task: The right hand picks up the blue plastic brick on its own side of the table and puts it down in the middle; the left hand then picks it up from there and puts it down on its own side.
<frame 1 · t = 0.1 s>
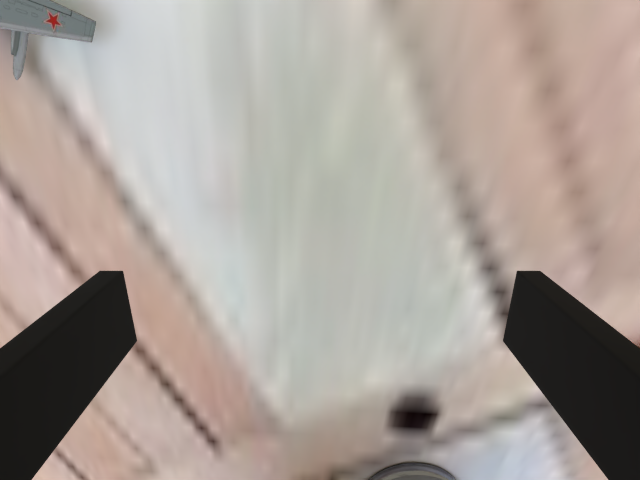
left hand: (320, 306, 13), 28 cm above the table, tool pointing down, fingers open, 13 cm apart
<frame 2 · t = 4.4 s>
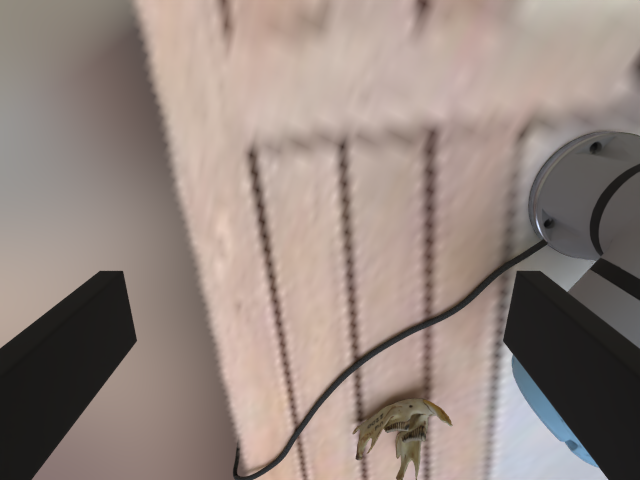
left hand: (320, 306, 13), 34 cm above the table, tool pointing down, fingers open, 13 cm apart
jawbone: (399, 409, 58), on the table
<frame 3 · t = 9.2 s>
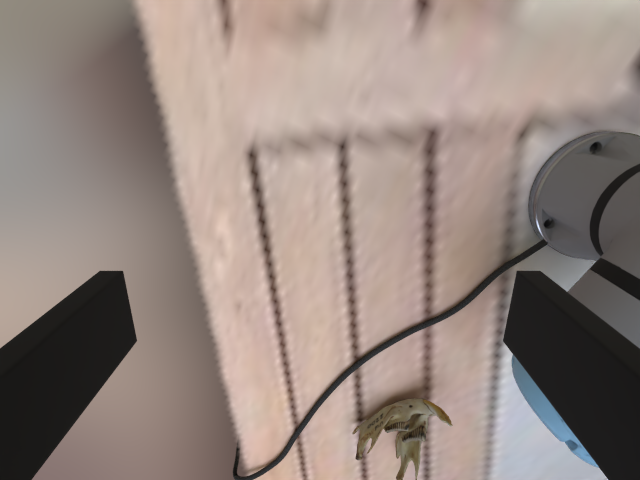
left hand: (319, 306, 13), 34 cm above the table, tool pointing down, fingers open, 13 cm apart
jawbone: (399, 409, 58), on the table
when the right hand's fingers open (4 cm above the table, at t = 13.8 s): brick drops 2 cm, on the table.
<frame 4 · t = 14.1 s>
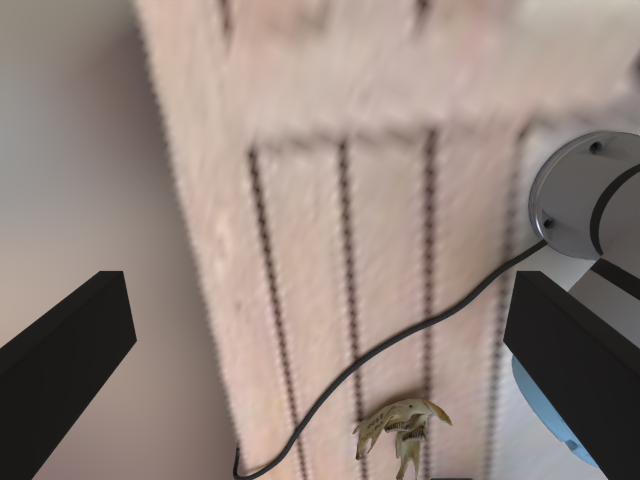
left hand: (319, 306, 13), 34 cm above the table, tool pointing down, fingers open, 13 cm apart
jawbone: (399, 409, 58), on the table
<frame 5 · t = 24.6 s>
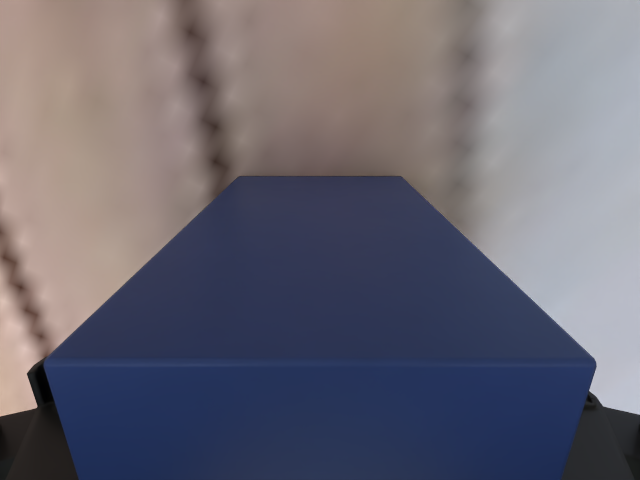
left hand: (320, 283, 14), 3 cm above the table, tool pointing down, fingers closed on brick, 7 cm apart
brick: (319, 255, 17), on the table, touching left hand
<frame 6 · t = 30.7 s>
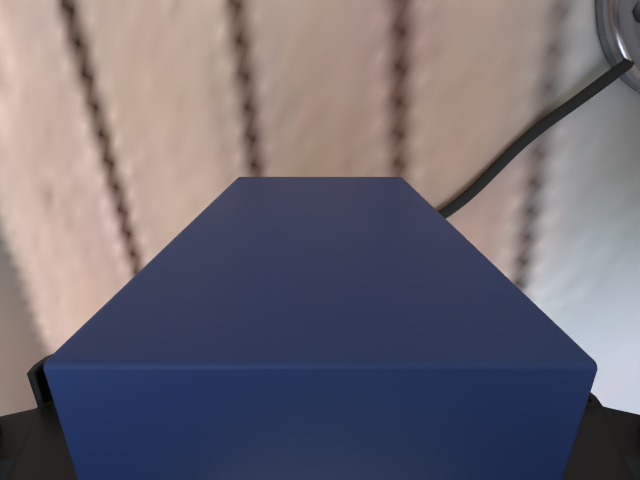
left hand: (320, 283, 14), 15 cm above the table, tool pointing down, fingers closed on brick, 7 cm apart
brick: (320, 256, 17), point 12 cm above the table, touching left hand
when the left hand's fingers open (4 cm above the table, at t = 37.2 s): brick drops 2 cm, on the table.
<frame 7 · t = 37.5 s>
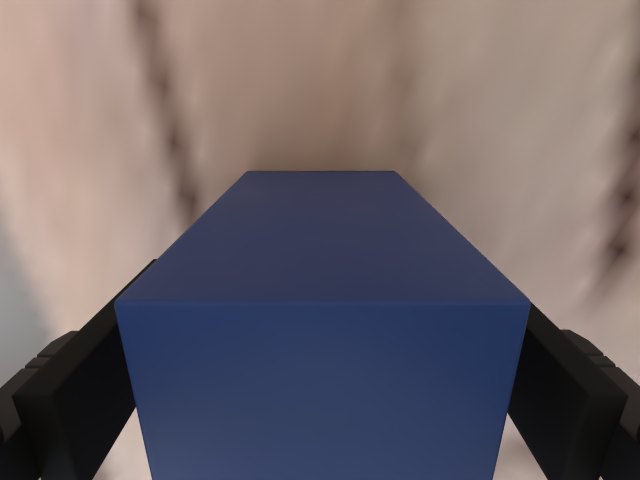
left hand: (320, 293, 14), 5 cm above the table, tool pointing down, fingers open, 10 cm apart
brick: (320, 244, 19), on the table
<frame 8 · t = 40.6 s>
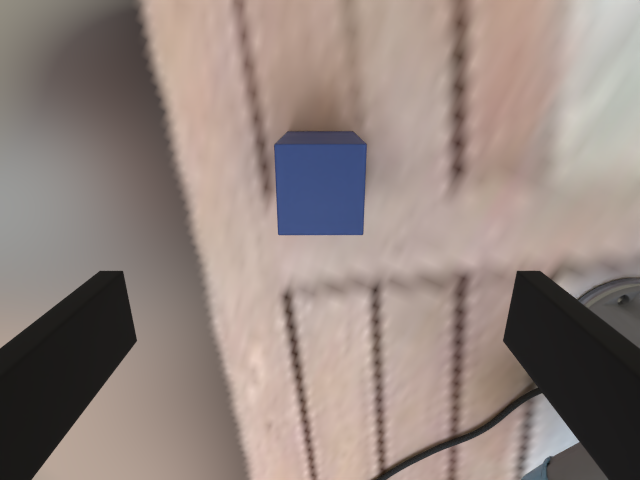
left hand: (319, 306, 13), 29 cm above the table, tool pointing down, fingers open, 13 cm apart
brick: (320, 166, 40), on the table
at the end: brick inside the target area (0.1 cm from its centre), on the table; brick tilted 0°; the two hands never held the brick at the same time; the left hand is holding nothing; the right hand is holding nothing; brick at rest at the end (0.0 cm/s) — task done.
